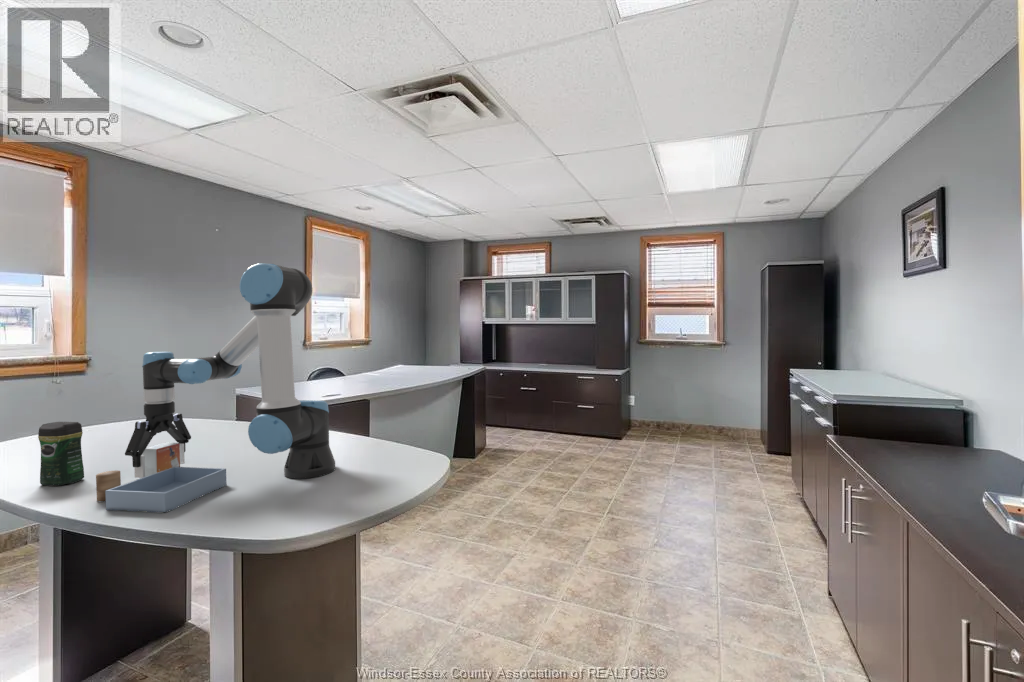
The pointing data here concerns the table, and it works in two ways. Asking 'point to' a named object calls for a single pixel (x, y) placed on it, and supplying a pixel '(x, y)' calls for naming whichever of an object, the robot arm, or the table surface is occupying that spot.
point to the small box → (161, 457)
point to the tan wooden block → (106, 483)
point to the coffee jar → (60, 453)
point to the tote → (165, 489)
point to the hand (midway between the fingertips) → (160, 470)
